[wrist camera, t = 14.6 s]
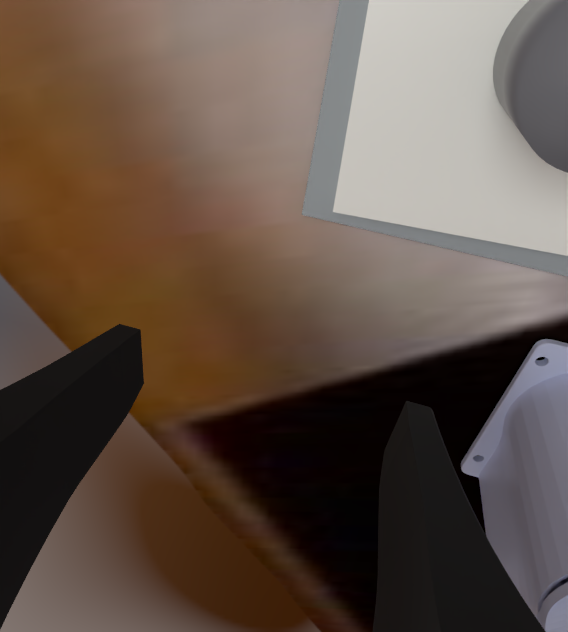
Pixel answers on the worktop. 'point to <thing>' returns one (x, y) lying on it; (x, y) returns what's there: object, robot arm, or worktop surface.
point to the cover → (462, 120)
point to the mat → (332, 146)
